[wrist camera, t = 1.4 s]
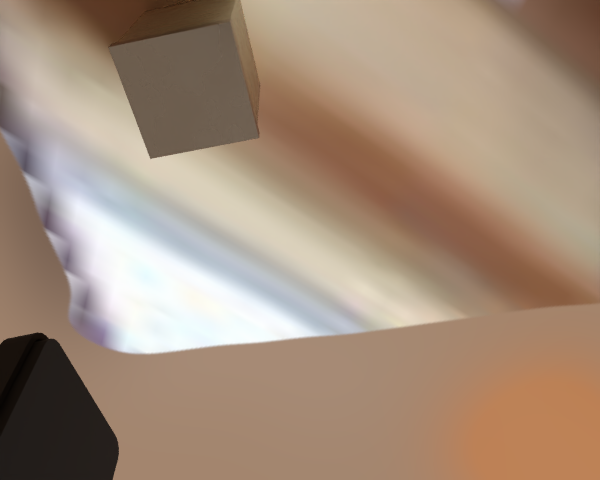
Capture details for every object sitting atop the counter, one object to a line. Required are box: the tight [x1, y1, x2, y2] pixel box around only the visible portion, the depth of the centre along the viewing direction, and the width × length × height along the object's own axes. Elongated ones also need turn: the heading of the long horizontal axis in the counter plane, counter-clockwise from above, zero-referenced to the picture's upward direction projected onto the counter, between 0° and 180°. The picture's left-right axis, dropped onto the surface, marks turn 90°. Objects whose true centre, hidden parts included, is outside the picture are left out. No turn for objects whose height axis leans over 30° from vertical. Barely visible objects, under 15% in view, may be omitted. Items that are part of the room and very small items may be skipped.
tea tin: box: [109, 0, 260, 159], centre depth 27 cm, size 5×5×7 cm
